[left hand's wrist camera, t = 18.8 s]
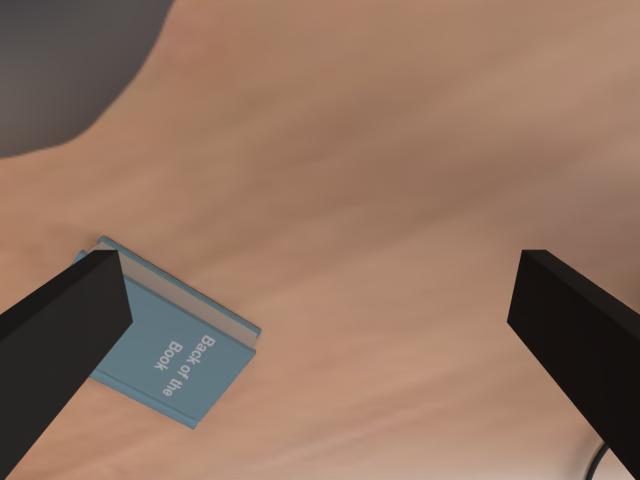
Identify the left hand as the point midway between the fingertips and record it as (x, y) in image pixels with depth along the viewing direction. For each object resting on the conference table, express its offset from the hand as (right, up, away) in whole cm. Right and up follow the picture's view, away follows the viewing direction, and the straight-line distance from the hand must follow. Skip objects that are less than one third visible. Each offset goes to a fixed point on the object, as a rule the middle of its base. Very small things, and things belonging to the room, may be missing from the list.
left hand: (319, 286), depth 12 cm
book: (-22, -10, +38) cm, 45 cm away
